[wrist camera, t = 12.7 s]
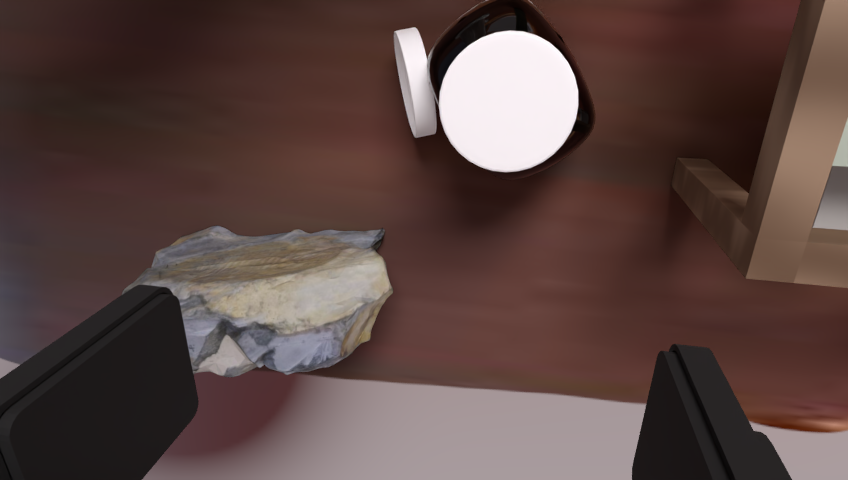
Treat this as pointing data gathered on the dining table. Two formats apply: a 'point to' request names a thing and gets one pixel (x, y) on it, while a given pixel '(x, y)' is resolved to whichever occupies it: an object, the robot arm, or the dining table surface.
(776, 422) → the dining table surface
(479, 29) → the spread jar
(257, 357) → the fossil rock
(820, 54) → the trapdoor frame
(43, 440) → the robot arm
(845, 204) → the gray cube
